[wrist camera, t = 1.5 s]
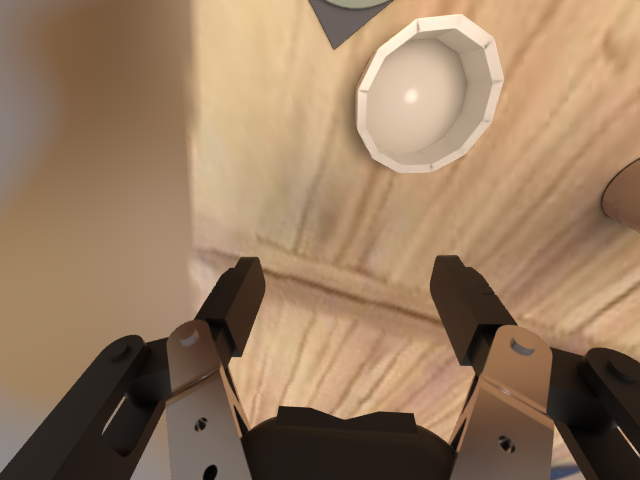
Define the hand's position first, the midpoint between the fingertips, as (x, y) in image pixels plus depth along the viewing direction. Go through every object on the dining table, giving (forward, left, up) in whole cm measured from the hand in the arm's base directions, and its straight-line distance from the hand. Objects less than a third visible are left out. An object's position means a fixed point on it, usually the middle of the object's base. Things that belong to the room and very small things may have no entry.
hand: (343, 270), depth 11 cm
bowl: (-9, -1, -23) cm, 24 cm away
